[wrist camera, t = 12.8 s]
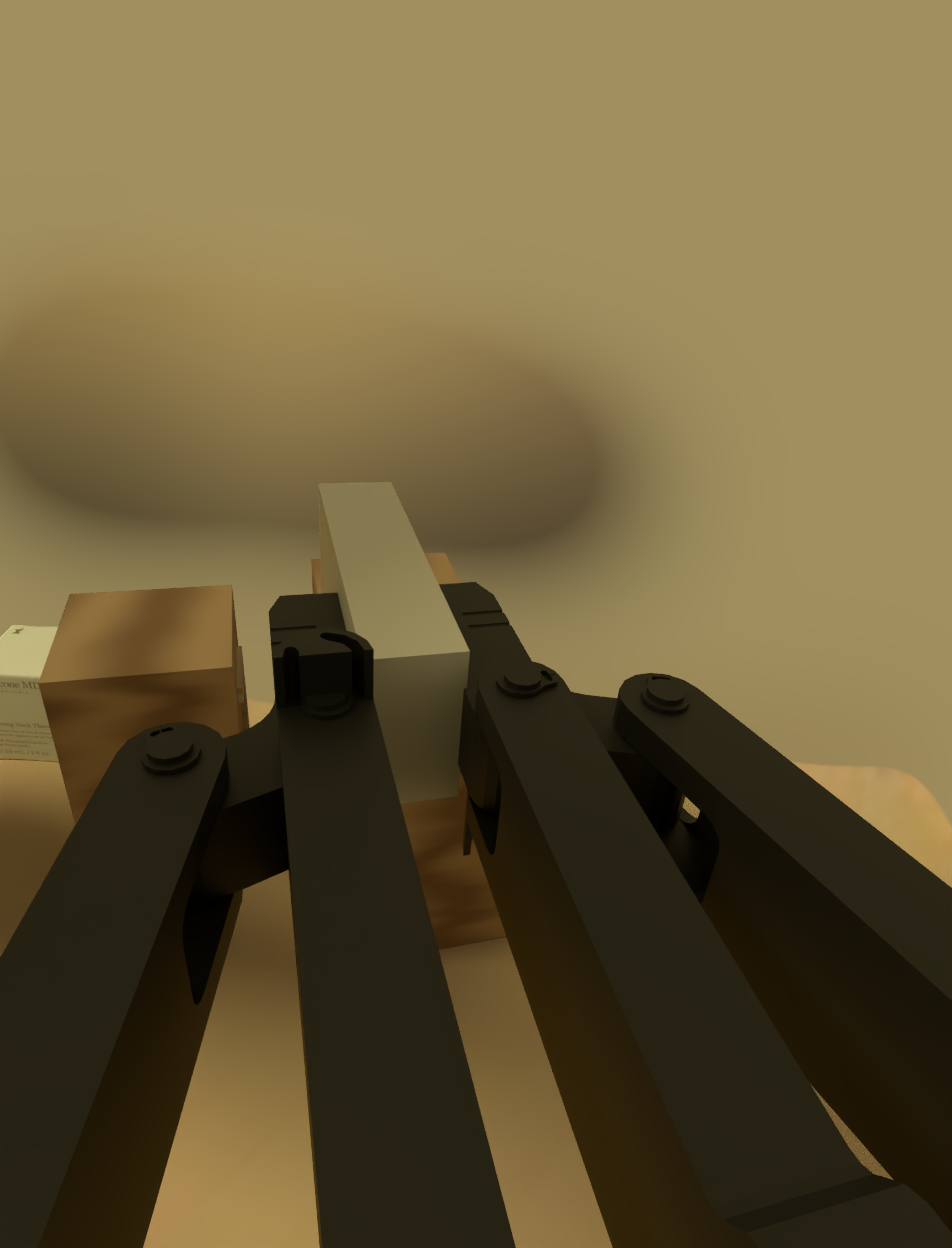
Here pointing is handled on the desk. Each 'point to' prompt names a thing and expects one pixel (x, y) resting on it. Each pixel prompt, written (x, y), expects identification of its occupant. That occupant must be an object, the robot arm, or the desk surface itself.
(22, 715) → the product box
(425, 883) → the plain block
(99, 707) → the block seven
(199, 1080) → the desk surface
